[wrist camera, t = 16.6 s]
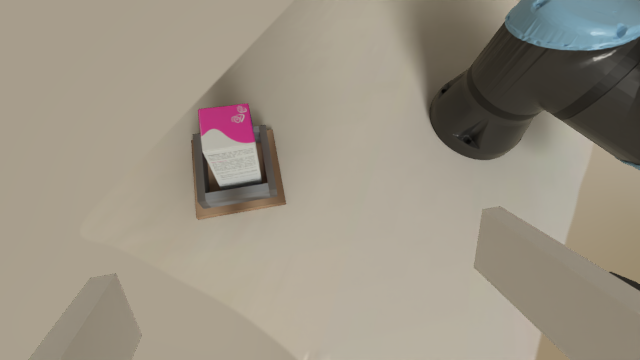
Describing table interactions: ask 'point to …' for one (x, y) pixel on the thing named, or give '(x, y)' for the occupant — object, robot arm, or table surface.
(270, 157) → the socket
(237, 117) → the supplement box
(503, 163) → the table surface
